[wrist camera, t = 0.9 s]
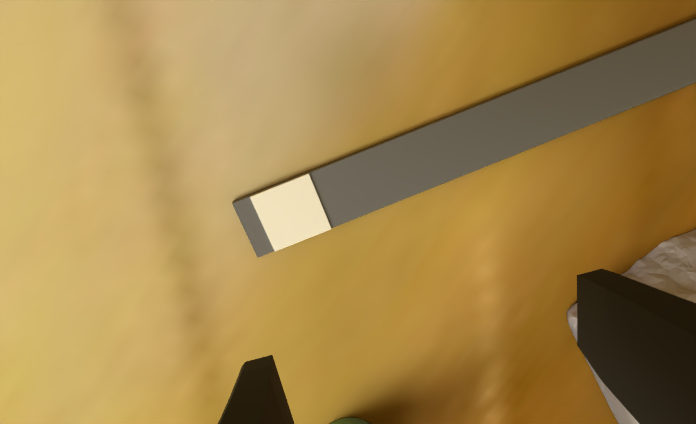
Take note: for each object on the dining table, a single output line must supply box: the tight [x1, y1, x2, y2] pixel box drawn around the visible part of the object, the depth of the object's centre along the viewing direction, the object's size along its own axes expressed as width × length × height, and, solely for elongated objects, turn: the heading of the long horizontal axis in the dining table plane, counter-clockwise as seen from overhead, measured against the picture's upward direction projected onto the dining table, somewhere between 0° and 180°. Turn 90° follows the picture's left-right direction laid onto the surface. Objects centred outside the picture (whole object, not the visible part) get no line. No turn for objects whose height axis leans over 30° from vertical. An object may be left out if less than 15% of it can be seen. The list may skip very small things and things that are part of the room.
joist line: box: [232, 18, 696, 257], centre depth 21 cm, size 2×22×1 cm, turn 110°
